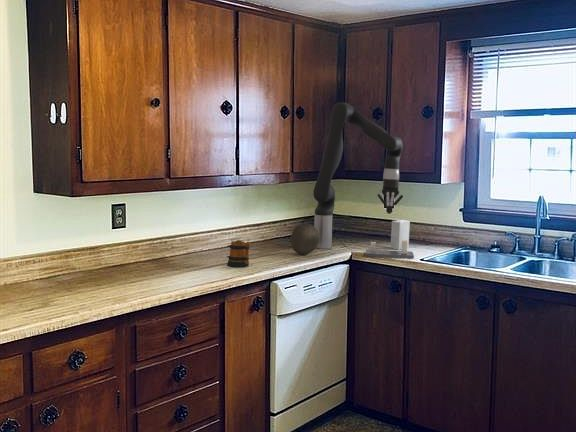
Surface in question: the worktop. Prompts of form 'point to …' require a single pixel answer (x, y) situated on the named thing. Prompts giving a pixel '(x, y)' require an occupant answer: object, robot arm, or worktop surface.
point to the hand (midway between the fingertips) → (389, 213)
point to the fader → (404, 247)
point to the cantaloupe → (304, 239)
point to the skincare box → (399, 233)
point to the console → (386, 253)
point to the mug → (238, 254)
